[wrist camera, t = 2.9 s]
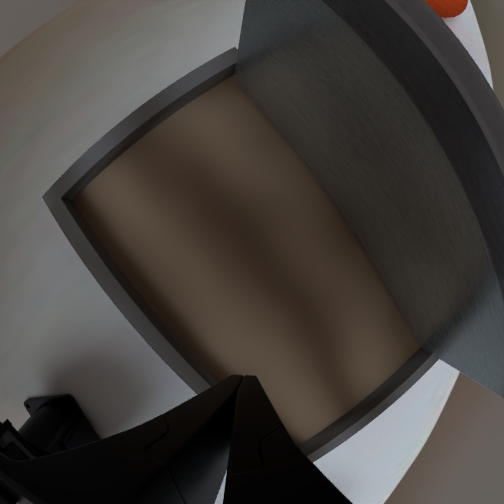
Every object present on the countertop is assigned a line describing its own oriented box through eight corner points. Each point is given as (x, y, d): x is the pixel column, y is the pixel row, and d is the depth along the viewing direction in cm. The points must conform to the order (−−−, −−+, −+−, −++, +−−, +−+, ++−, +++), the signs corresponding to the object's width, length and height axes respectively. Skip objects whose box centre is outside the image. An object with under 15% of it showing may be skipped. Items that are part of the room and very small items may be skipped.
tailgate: (416, 349, 18) (535, 425, 6) (230, 81, 15) (254, -88, 3) (431, 334, 18) (552, 399, 6) (251, 69, 15) (297, -93, 3)
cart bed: (283, 441, 21) (294, 473, 17) (71, 201, 17) (41, 196, 13) (414, 337, 21) (443, 354, 17) (231, 77, 18) (234, 47, 14)
